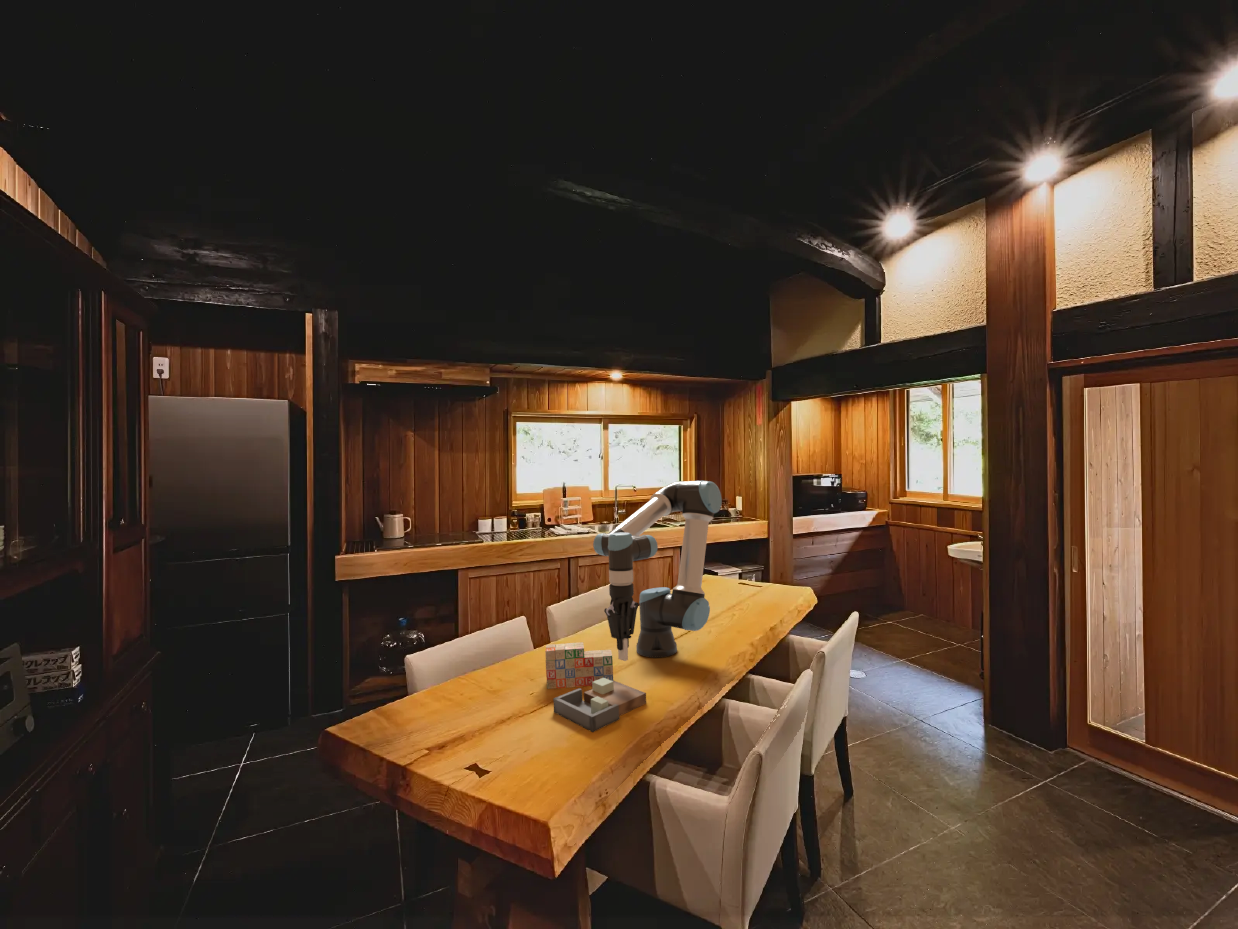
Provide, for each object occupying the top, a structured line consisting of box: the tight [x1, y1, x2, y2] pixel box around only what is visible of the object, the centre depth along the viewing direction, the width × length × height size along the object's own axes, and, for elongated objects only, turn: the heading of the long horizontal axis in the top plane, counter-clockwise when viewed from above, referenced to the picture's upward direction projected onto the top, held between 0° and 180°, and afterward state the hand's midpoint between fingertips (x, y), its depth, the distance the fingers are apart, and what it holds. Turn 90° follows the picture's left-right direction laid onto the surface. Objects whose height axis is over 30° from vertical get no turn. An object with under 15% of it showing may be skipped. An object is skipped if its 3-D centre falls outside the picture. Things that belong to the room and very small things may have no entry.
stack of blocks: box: [545, 641, 614, 690], centre depth 177 cm, size 21×6×12 cm, turn 94°
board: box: [583, 679, 647, 717], centre depth 161 cm, size 12×14×3 cm
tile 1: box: [591, 678, 614, 695], centre depth 163 cm, size 4×4×2 cm
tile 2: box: [591, 696, 608, 714], centre depth 151 cm, size 4×4×2 cm
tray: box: [552, 687, 621, 733], centre depth 153 cm, size 10×17×4 cm, turn 43°
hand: (623, 659), depth 169 cm, fingers closed
